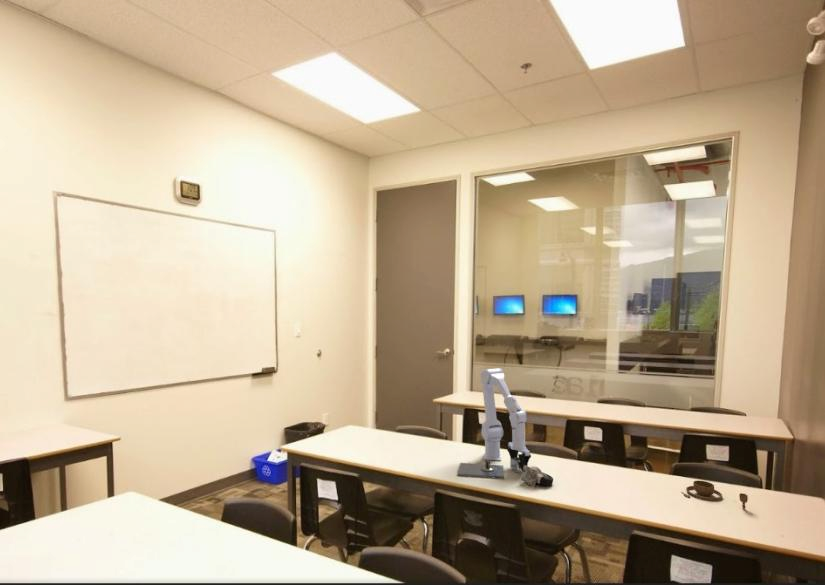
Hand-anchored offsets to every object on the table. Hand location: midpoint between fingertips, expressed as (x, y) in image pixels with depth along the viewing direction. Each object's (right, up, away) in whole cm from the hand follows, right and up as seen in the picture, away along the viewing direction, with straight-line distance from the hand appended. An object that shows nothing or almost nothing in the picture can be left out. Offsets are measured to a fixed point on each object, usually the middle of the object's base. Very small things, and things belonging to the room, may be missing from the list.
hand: (519, 467), depth 203 cm
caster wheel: (+5, -1, -15) cm, 16 cm away
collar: (0, -1, 0) cm, 1 cm away
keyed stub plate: (-18, -1, -2) cm, 18 cm away
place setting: (+67, -1, -31) cm, 74 cm away
